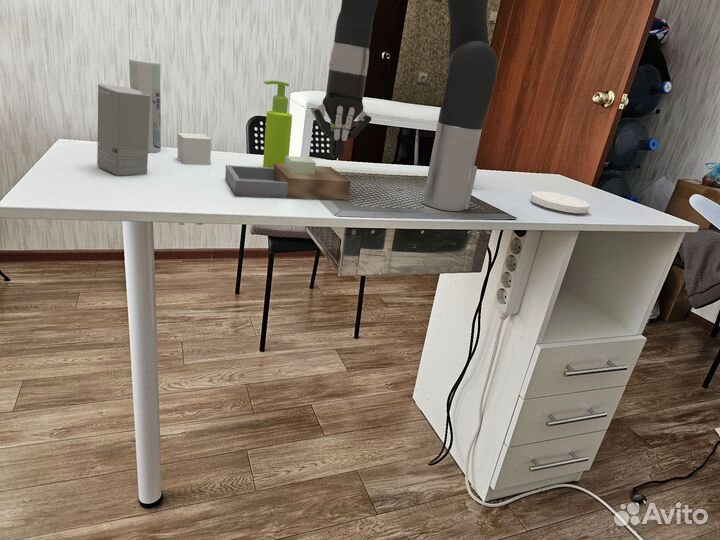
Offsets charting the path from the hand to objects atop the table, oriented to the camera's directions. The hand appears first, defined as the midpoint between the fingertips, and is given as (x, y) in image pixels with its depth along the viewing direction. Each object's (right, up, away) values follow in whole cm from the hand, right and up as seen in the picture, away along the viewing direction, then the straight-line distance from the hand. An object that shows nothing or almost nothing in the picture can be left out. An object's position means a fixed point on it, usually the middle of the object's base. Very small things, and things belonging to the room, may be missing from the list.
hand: (335, 157), depth 106 cm
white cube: (-34, +1, +11) cm, 35 cm away
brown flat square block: (-6, -7, 0) cm, 9 cm away
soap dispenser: (-16, 0, +15) cm, 22 cm away
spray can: (-46, +5, +15) cm, 49 cm away
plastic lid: (+55, -8, +20) cm, 59 cm away
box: (-16, -7, -4) cm, 18 cm away
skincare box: (-42, -4, -5) cm, 43 cm away
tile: (-7, -3, -2) cm, 8 cm away
